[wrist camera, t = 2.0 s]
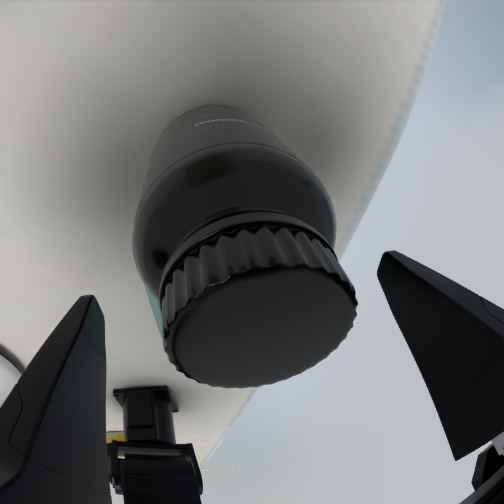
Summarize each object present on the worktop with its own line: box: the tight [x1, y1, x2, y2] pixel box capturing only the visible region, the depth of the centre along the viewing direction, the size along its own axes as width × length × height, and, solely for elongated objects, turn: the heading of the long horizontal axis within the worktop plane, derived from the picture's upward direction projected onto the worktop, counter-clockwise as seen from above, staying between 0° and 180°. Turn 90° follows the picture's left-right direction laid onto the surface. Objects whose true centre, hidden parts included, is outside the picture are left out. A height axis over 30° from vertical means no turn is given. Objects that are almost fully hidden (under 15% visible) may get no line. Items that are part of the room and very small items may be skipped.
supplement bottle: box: [133, 106, 358, 388], centre depth 11 cm, size 7×7×12 cm
